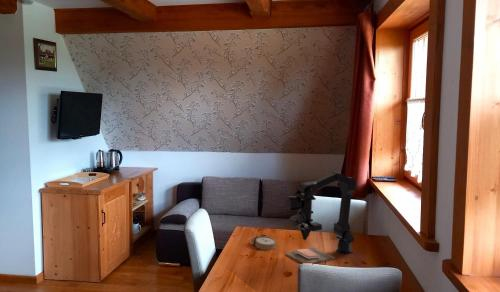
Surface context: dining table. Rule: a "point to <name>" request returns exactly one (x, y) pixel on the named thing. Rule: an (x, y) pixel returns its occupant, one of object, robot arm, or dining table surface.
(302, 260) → the board
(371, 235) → the dining table surface
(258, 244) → the alarm clock
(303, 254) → the tile
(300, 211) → the robot arm
